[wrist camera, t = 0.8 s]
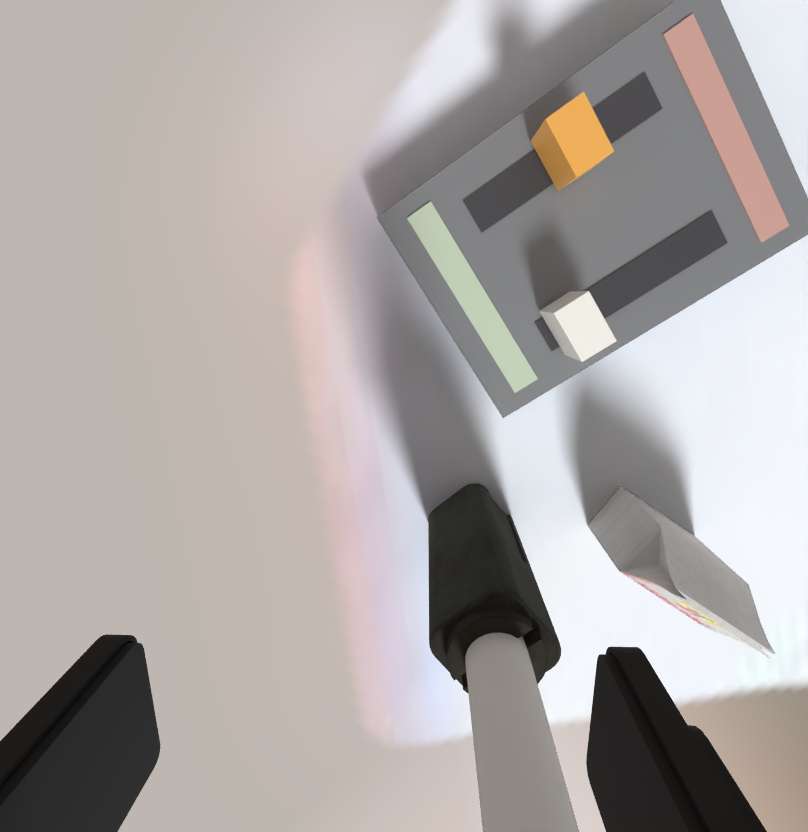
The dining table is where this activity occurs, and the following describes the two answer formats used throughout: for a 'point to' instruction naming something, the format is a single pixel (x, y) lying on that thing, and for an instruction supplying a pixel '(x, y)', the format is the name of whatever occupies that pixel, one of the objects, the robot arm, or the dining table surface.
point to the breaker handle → (571, 142)
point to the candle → (497, 660)
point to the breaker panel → (605, 209)
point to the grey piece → (677, 568)
